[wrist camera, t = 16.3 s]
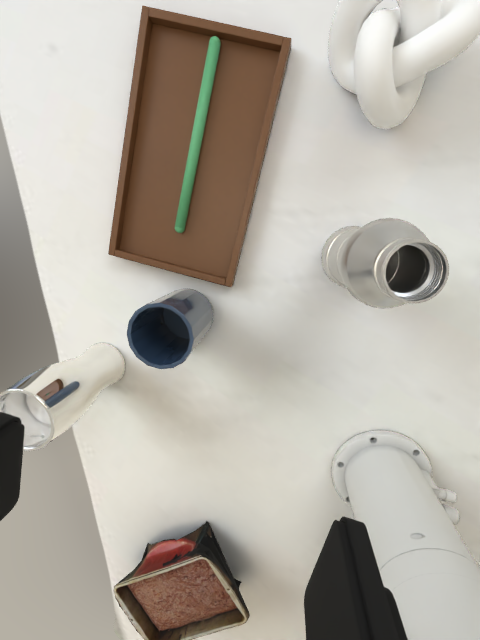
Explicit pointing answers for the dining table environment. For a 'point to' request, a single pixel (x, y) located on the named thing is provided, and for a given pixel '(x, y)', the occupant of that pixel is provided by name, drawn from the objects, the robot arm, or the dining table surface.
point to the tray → (175, 136)
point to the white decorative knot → (396, 50)
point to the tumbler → (170, 328)
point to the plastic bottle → (385, 263)
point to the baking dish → (182, 590)
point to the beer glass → (61, 393)
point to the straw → (197, 132)
